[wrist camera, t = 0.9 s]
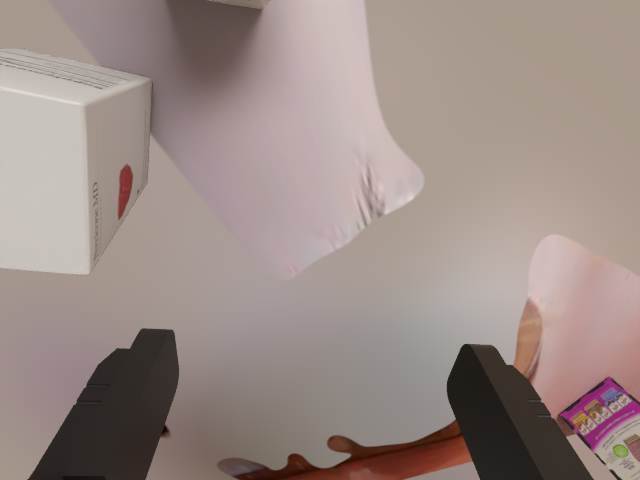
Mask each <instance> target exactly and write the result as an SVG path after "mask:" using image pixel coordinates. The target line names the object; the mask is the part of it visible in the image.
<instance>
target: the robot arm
mask: <svg viewBox="0 0 640 480" xmlns="http://www.w3.org/2000/svg"><path fill="white" fill-rule="evenodd" d="M176 350H177V349H176V341H175V335H174V332H173V330H166V329H141V330H140V332H139V333H138V335H137V337H136V338H135V340H134V342H133V344H132V346H131V348H130V349H119V348H117V349H116V350H115V351H114V352H113V353H111V354H110V355H109V356H108V357H107V358H106V359H104V360H103V361H102V362H101V363H100V364H99V365H98V366H97V368H96V370H95V372H94V373H93V374H92V376H91V378H90V379H89V381H88V383H87V386H86V388H84V389H83V391H82V393H81V394H80V396H79V398H78V399H77V403H76V405H74V406H73V408H72V409H71V411H70V412H69V414H68V416H67V417H66V419H65V421H64V422H63V424H62V426H61V427H60V429H59V431H58V432H57V434H56V436H55V437H54V439H53V440H52V442H51V444H50V445H49V447H48V449H47V450H46V452H45V454H44V455H43V457H42V459H41V460H40V462H39V464H38V465H37V467H36V469H35V470H34V472H33V473H32V475H31V476H30V478H29V479H28V480H145V479H146V476H147V473H148V471H149V467H150V465H151V462H152V459H153V456H154V453H155V450H156V448H157V445H158V442H159V439H160V436H161V433H162V430H163V427H164V424H165V422H166V419H167V415H168V413H169V410H170V407H171V404H172V401H173V398H174V395H175V392H176V389H177V385H178V378H179V365H178V357H177V351H176ZM447 395H448V399H449V403H450V405H451V408H452V410H453V412H454V415H455V418H456V420H457V423H458V425H459V428H460V430H461V433H462V435H463V438H464V440H465V443H466V445H467V448H468V450H469V453H470V455H471V458H472V460H473V463H474V465H475V467H476V470H477V473H478V475H479V477H480V480H594V479H593V478H592V477H591V475H590V473H589V472H588V470H587V469H586V467H585V466H584V464H583V463H582V461H581V460H580V458H579V457H578V455H577V454H576V452H575V451H574V449H573V448H572V446H571V444H570V443H569V441H568V440H567V438H566V437H565V435H564V434H563V432H562V431H561V429H560V427H559V426H558V424H557V423H556V421H555V420H554V418H551V414H550V412H549V411H548V409H547V408H546V406H545V404H544V403H542V402H541V398H540V397H539V395H538V394H537V392H536V391H535V389H534V388H533V386H532V385H531V383H530V382H529V380H528V379H526V378H525V377H524V376H523V375H522V374H521V373H520V372H519V371H518V370H517V369H516V368H515V367H513V366H512V365H506V363H505V362H504V360H503V358H502V357H501V355H500V354H499V352H498V350H497V349H496V348H495V347H494V346H492V345H476V344H464V345H463V346H462V347H461V349H460V352H459V354H458V356H457V359H456V361H455V364H454V366H453V368H452V370H451V373H450V375H449V377H448V381H447Z"/></svg>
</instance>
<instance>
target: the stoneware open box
mask: <svg viewBox="0 0 640 480" xmlns="http://www.w3.org/2000/svg"><path fill="white" fill-rule="evenodd" d="M207 1H213V2H219V3H225V4H232V5H238V6H244V7H250V8H256V9H262V10H263V9H264V8H265V6H266V5H267V4H268V3H269V1H270V0H207Z"/></svg>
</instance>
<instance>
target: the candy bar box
mask: <svg viewBox="0 0 640 480" xmlns="http://www.w3.org/2000/svg"><path fill="white" fill-rule="evenodd" d="M560 416H561V417H562V418H563V420H564V421H565V422H566V423H567V424H568V425H569V426H570V427H571V429H572V430H573V431H574V432H575V433H576V434H577V435H578V436H579V437H580V438H581V440H582V441H583V442H584V443H585V444H586V445H587V446H588V447H589V448H590V449H591V451H592V452H593V453H594V454H595V455H596V456H597V457H598V458H599V460H600V461H601V462H602V463H603V464H604V465H605V466H606V467H607V469H608V470H609V471H610V472H611V473H612V474H613V475H614V476H615V477H616V479H617V480H640V402H639V401H637V400H636V399H635V398H634V397H633V396H632V395H630V394H629V393H628V392H627V391H626V390H625V389H624V388H622V387H621V386H620V385H619V384H618V383H617V382H616V381H614V380H613V379H612V378H611V377H609V378H607V379H605V380H604V381H603V382H601V383H600V384H599V385H597V386H596V387H595V388H593V389H592V390H591V391H590V392H588V393H587V394H586V395H584V396H583V397H582V398H580V399H579V400H578V401H576V402H575V403H574V404H573V405H571V406H570V407H569V408H567V409H566V410H565V411H563V412H562V413H561V414H560Z"/></svg>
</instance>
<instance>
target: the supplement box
mask: <svg viewBox="0 0 640 480" xmlns="http://www.w3.org/2000/svg"><path fill="white" fill-rule="evenodd" d="M151 95H152V80H151V79H150V78H148V77H144V76H140V75H136V74H131V73H127V72H122V71H118V70H114V69H109V68H105V67H100V66H96V65H91V64H86V63H83V62H78V61H74V60H69V59H65V58H60V57H56V56H52V55H47V54H43V53H38V52H34V51H30V50H25V49H0V268H4V269H15V270H25V271H36V272H46V273H60V274H76V275H89V274H90V273H91V271H92V269H93V268H94V266H95V265H96V263H97V261H98V260H99V258H100V256H101V255H102V254H103V252H104V250H105V249H106V248H107V246H108V244H109V243H110V241H111V239H112V238H113V236H114V235H115V233H116V231H117V230H118V228H119V227H120V225H121V224H122V222H123V220H124V219H125V217H126V216H127V214H128V213H129V211H130V209H131V208H132V206H133V205H134V203H135V201H136V200H137V198H138V197H139V195H140V194H141V192H142V190H143V189H144V187H145V186H146V184H147V178H148V162H149V139H150V119H151Z"/></svg>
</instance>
